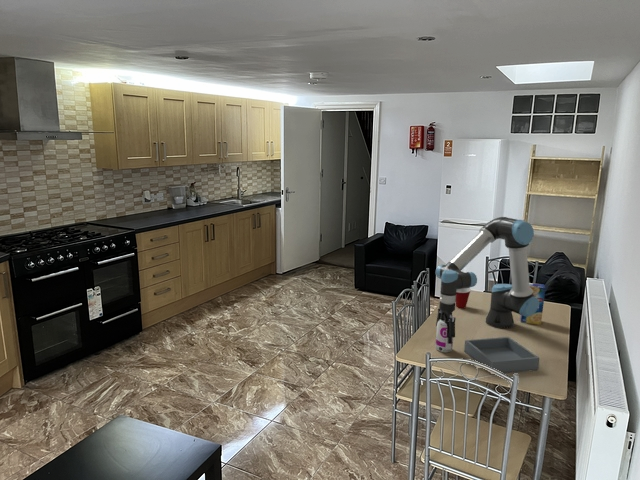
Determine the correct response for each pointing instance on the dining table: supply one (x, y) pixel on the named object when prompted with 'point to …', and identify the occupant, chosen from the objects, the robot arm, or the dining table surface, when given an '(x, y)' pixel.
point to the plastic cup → (462, 297)
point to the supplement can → (442, 337)
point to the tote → (502, 354)
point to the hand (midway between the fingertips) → (444, 345)
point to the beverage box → (537, 316)
